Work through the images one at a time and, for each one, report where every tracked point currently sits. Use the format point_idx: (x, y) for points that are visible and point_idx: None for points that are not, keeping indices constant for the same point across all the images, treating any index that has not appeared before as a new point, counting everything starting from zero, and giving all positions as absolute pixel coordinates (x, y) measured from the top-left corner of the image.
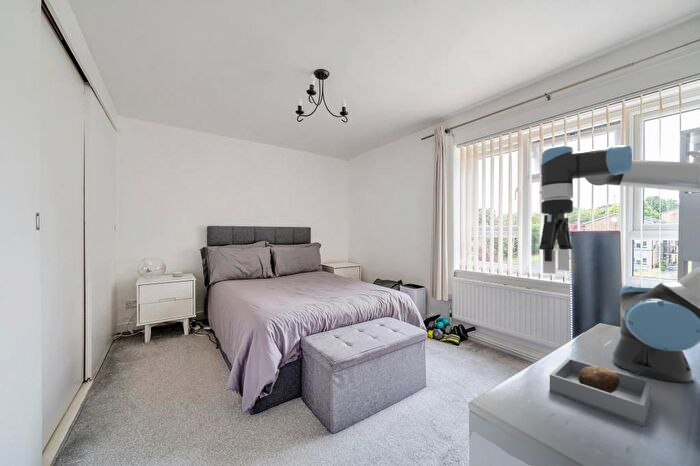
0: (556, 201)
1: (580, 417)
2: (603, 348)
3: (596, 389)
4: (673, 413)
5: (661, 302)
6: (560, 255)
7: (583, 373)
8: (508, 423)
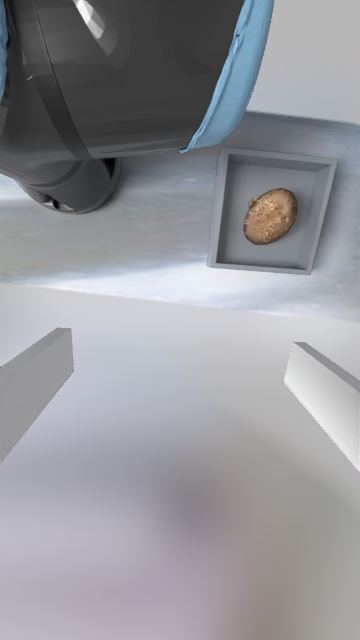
0: None
1: (344, 231)
2: (6, 234)
3: (322, 215)
4: (249, 134)
5: None
6: (26, 413)
7: (277, 236)
8: None
